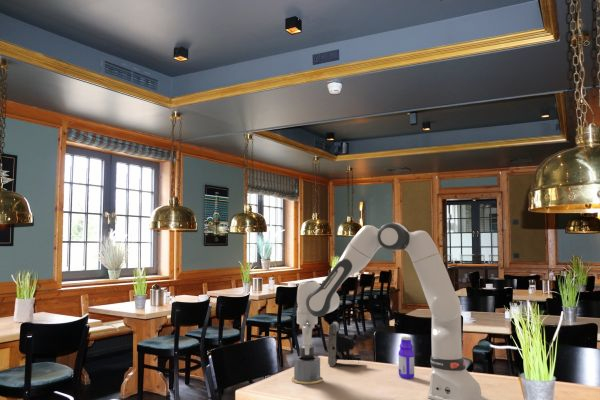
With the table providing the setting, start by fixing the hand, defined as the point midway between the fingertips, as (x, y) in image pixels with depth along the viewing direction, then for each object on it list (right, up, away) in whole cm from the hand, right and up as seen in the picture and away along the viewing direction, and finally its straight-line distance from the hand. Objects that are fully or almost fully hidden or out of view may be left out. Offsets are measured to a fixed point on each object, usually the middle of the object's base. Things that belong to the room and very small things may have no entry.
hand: (307, 352), depth 219 cm
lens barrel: (0, -11, -1) cm, 11 cm away
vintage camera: (+19, -14, +27) cm, 36 cm away
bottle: (+43, -12, +4) cm, 45 cm away
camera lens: (0, -2, 0) cm, 2 cm away
